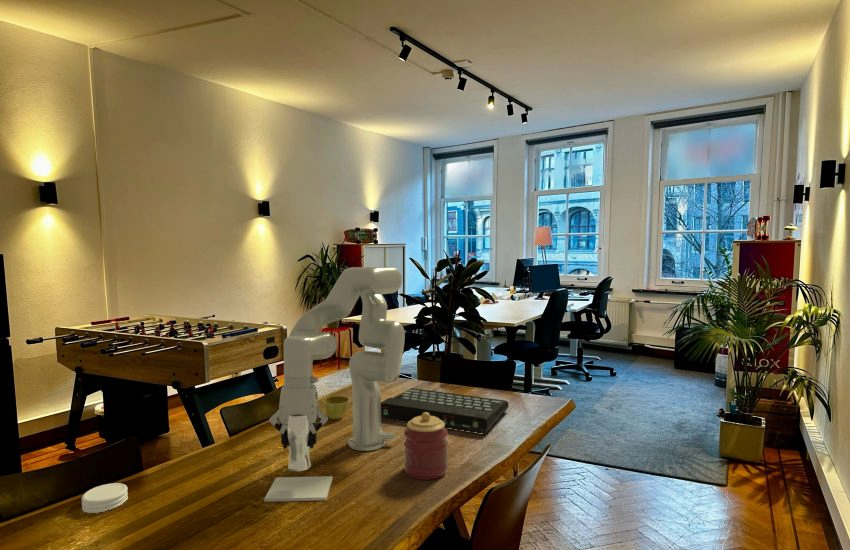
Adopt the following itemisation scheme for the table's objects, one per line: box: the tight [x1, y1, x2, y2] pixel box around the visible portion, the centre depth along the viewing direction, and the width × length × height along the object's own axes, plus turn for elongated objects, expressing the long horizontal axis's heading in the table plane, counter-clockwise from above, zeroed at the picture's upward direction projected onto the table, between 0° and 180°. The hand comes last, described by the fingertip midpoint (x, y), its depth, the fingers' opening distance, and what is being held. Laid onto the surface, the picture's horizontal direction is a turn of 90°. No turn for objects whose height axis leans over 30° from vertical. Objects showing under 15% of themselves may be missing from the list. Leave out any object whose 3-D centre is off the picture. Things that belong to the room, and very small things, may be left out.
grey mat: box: [263, 475, 333, 503], centre depth 134 cm, size 16×12×1 cm
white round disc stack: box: [81, 482, 129, 514], centre depth 127 cm, size 10×10×4 cm
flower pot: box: [322, 395, 350, 420], centre depth 192 cm, size 10×10×7 cm
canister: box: [403, 412, 449, 481], centre depth 145 cm, size 13×13×18 cm
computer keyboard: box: [381, 387, 510, 435], centre depth 195 cm, size 45×28×7 cm, turn 65°
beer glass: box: [286, 415, 312, 472], centre depth 133 cm, size 7×7×15 cm
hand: (299, 446), depth 133 cm, fingers closed on beer glass, 6 cm apart
